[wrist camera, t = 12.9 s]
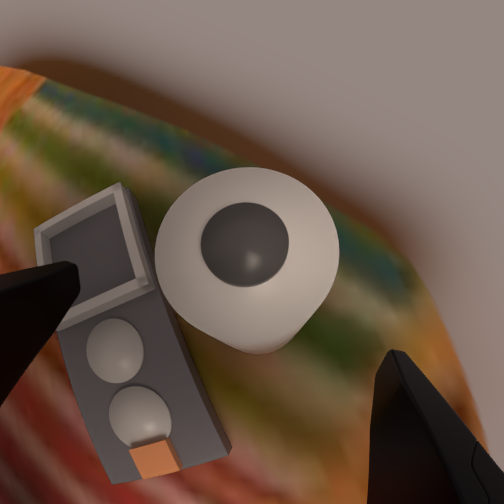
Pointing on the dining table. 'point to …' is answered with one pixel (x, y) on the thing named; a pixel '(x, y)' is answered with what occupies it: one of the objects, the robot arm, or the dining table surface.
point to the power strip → (127, 345)
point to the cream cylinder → (247, 257)
